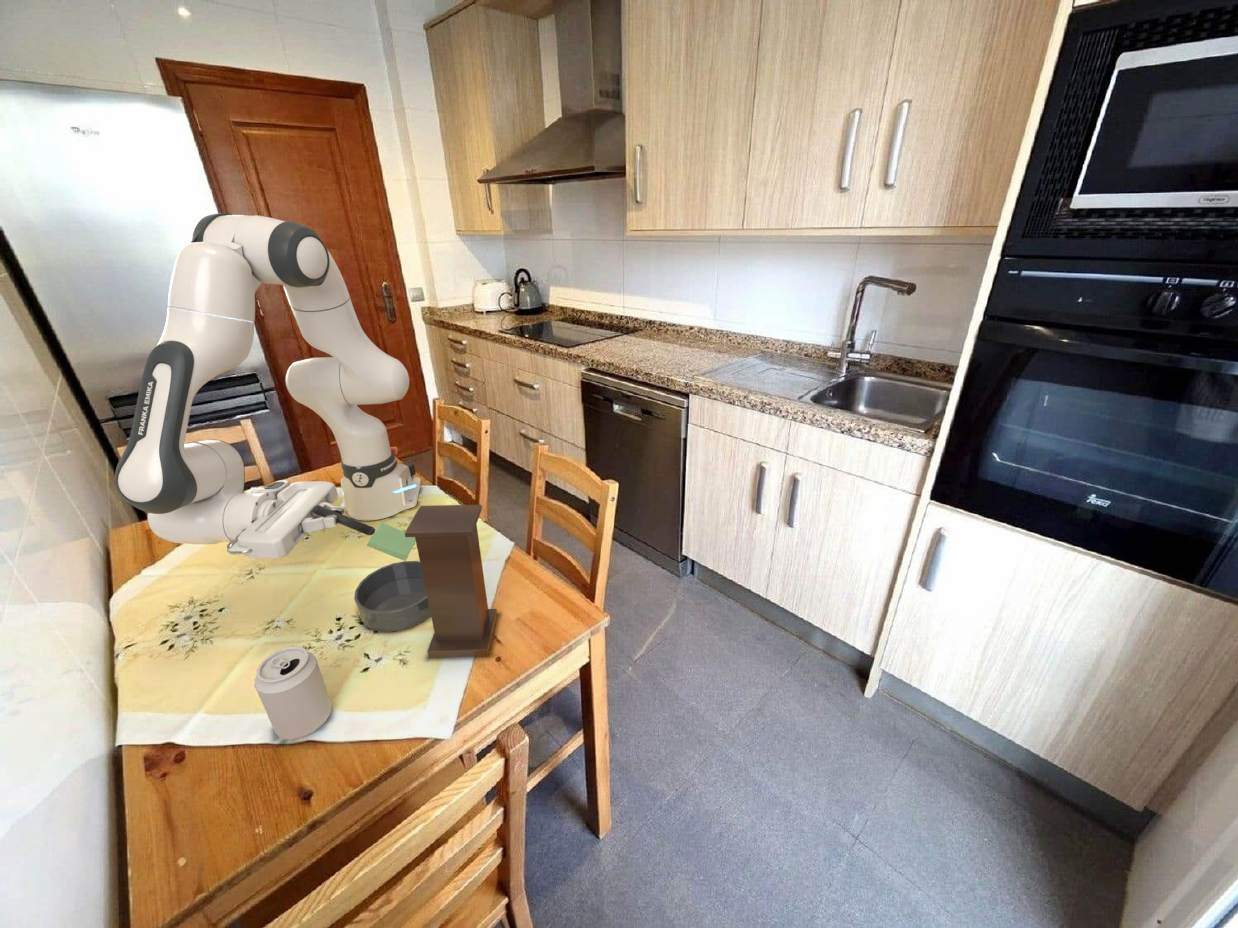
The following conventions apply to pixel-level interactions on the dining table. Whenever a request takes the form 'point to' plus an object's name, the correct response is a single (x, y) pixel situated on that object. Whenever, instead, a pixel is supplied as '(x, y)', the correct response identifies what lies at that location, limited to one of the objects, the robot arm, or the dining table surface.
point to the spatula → (376, 534)
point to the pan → (393, 597)
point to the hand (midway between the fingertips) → (340, 516)
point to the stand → (453, 579)
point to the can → (293, 692)
